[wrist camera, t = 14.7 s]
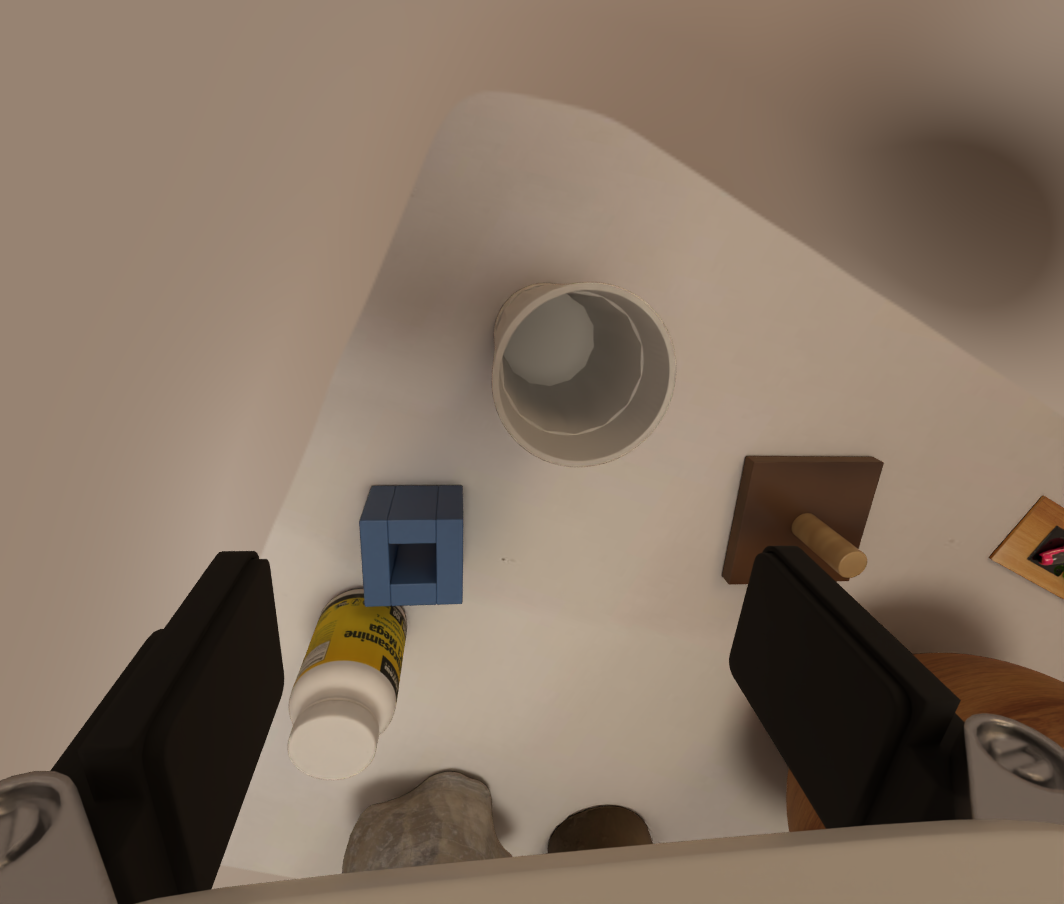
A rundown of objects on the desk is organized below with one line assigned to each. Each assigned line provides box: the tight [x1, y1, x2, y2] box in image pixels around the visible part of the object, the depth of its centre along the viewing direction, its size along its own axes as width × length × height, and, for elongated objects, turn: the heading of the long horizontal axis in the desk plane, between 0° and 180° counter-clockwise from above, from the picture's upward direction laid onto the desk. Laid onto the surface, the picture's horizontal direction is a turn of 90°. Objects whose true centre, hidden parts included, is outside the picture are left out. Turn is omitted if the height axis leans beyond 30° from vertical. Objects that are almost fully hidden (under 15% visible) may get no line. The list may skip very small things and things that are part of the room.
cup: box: [492, 282, 676, 467], centre depth 29 cm, size 8×8×12 cm
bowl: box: [786, 653, 1064, 832], centre depth 43 cm, size 25×25×15 cm
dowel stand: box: [722, 456, 884, 584], centre depth 39 cm, size 10×10×7 cm
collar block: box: [359, 485, 463, 607], centre depth 36 cm, size 6×6×5 cm
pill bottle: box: [288, 589, 407, 780], centre depth 35 cm, size 6×6×11 cm
